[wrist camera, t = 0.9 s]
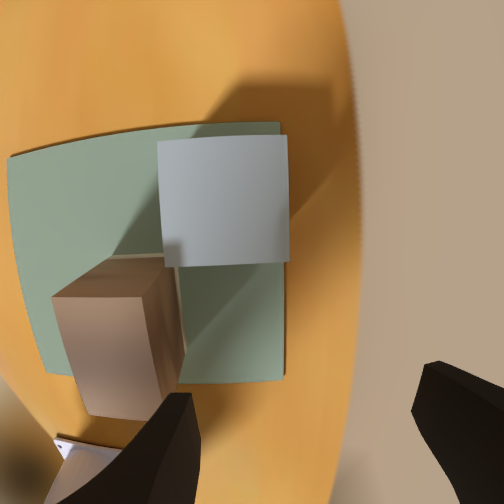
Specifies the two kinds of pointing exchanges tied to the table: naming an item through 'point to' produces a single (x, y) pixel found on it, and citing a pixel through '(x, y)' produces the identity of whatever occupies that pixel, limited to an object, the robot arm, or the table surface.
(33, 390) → the table surface
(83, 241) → the felt mat
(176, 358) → the walnut block
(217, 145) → the gray block
